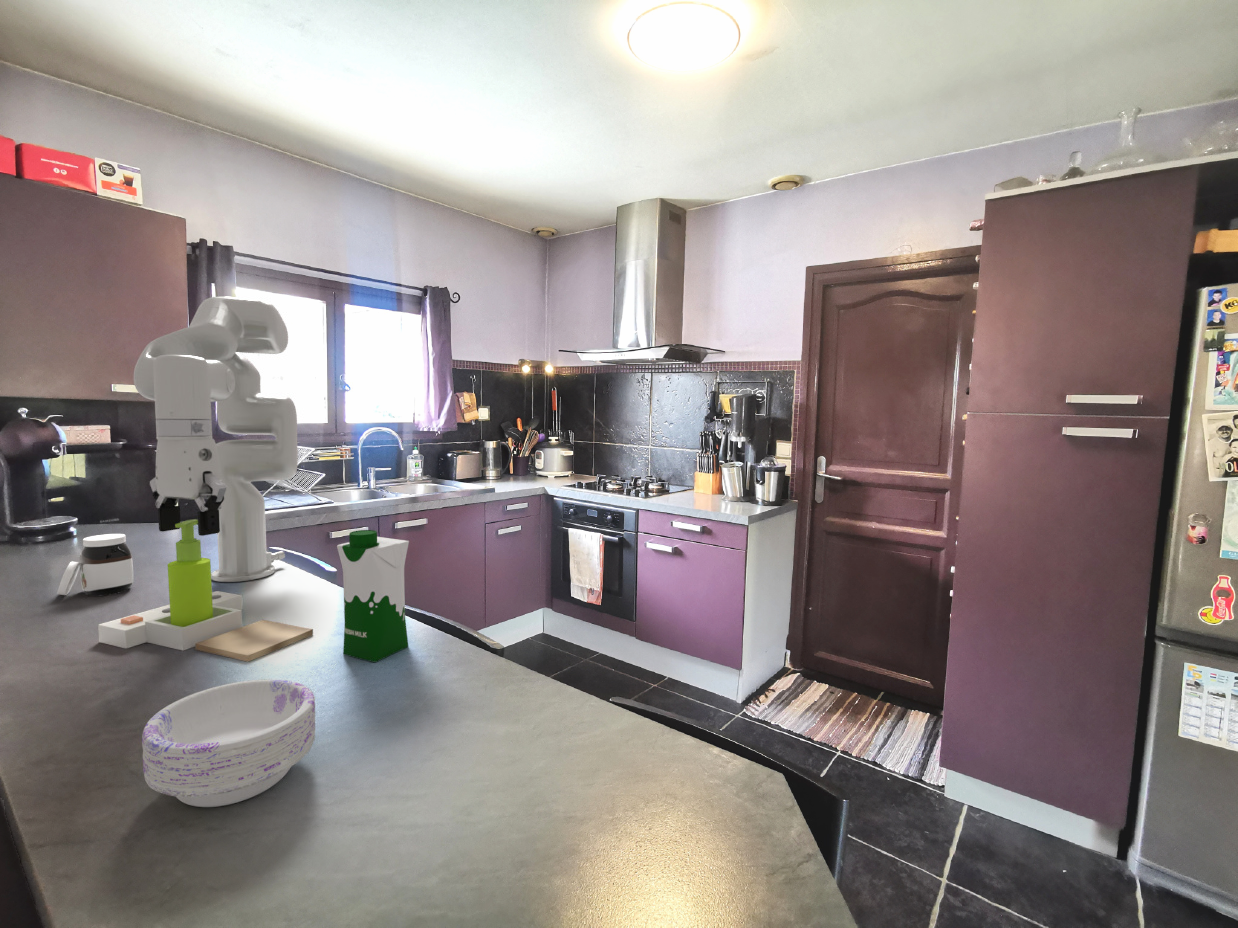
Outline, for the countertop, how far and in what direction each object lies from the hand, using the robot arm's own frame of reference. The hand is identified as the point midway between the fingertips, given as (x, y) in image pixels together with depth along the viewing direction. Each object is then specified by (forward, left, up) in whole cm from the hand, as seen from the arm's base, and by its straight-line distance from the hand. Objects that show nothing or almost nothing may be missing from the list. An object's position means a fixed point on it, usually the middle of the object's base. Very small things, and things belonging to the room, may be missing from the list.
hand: (189, 532), depth 100 cm
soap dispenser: (0, 0, -18) cm, 18 cm away
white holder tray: (-2, -4, -18) cm, 19 cm away
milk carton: (-7, +33, -18) cm, 38 cm away
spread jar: (-8, -43, -18) cm, 48 cm away
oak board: (-2, +12, -18) cm, 22 cm away
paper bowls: (+25, +44, -19) cm, 53 cm away
